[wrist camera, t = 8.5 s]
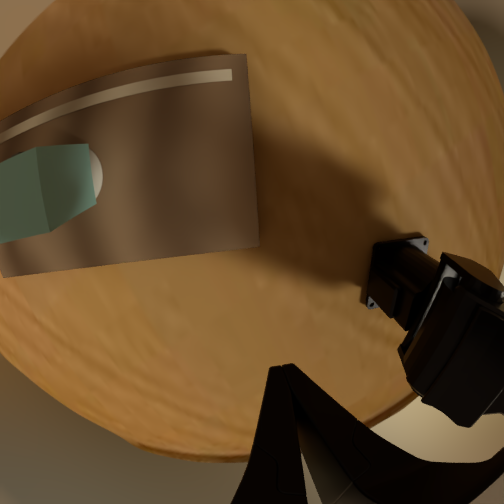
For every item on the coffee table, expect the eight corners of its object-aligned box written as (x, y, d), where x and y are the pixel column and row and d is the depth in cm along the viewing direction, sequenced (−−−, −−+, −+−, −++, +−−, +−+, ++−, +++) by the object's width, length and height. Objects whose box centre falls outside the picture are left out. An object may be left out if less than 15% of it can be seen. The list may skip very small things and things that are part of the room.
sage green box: (87, 140, 14) (35, 142, 8) (96, 203, 15) (50, 232, 10) (41, 155, 13) (-15, 166, 8) (51, 213, 15) (0, 243, 9)
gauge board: (244, 59, 15) (256, 29, 10) (257, 240, 20) (272, 272, 15) (-19, 137, 12) (-57, 143, 7) (6, 272, 17) (-24, 299, 12)
